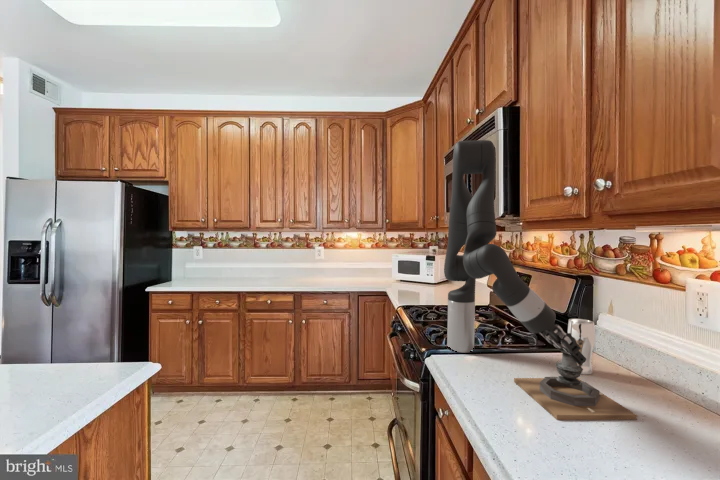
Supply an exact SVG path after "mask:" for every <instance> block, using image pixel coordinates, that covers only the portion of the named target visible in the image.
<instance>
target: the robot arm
mask: <svg viewBox="0 0 720 480" xmlns="http://www.w3.org/2000/svg"><path fill="white" fill-rule="evenodd" d="M452 154H453V155H452V179H451V180H452V182H451V183H452V184H451V199H450V206H449V215H448V233H447V234H448V235H447V246H446V252H445V258H444V265H443V266H444V267H443V274H444V278H445V279H446V281H447V280H448V281H451V282H465V283H464V284H463V285H461V286H460V287H459V288H456V289H453V290H450V291H448V293H447V334H446V338H447V339H446V340H447V341H446V342H447V343H446V347H447V346H448V347H450V348H451V349H453V350H455V351H457V352H456V353H465V354H466V353H471V352H470V351H471V350H473V348H474V349H475V321H476V320H475V318H476V280H479V279H483V278H486V277H488V276H489V277H490V276H491V275H494V276H495V278H496V279H495V281H493V283H492V291H493V293H494V295H496V296H497V297H498V298H499V299H500V300H501V302H503V304H504V305H505V306H506V307H507V308H508V309H509V311H510V313H512V315H513V316H514V317H515V318H516V319H517V320H518V321H519V322H520V323H521V324H522V326H524V328H526V330H527V331H529V333H531V334H539V335H540V336H542V338H544V340H545V341H547V343H549V345H553V347H555V349H556V348H557V349H558V350H559V351H560V352H561V353H562V351H561V349H564V350H565V351H566V352H567V354H569V355H570V356H571V357H572V358H573V359H574V360H575V361H576V362H577V363H578V364H579V365H582V364H583V363H584V362H585V361H586V358H585V357H584V356H583V355H582V353H581V352H580V351H579V350H580V349H581V348H580V346H579V345H578V344H577V342H576V341H575V340H574V338H573V337H572V336H571V334H569V333H568V332H567V333H566V332H565V331H564V330H563V328H562V327H561V326H560V325H559V324H556V323H555V321H556V317H557V316H556V314H557V313H555V311H554V310H553V309H552V308H551V307H550V306H549V305H548V304H547V302H546V301H544V300H543V298H541V296H539V294H537V293H536V292H535V290H533V289H532V288H530V287H529V285H528V284H527V283H525V281H524V279H522V278H521V277H520V276H519V274H518V273H517V271H516V268H515V267H514V265H513V263H512V262H511V260H510V258H509V256H508V254H507V253H506V251H505V250H504V248H502V247H501V246H499V245H497V244H495V243H491V242H492V241H493V240H494V239H495V238H496V236H497V223H496V222H497V221H496V213H495V211H496V210H495V188H496V148H495V145H494V143H493V142H492V141H491V140H488V139H482V140H481V139H478V140H476V139H475V140H460V141H457V142H456V143H455V145H454V148H453V153H452ZM477 174H479V175H482V179H481V182H480V184H479V187H478V188H477V190H476V192H475V193H474V194H473V195H472V193H471V192H470V190H469V188H468V187H467V184H466V182H465V179H464V178H465V177H464V176H465V175H477ZM462 248H464V249H463V254H462V255H461V254H460V255H459V253H460V251H461V249H462ZM455 351H454V352H455Z"/></svg>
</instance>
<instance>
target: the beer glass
mask: <svg viewBox="0 0 720 480" xmlns="http://www.w3.org/2000/svg"><path fill="white" fill-rule="evenodd" d="M567 323H568V324H567V333H571V336H572V337H574V338H575V339H576V342H577V344H578V345H579V346H580V348H581V349H580V350H579V351H580V352H581V353H582V355H583V356H584V357H585V358H586V361H585V362H584V363H583V364H582V365H579V364H578V363H577V365H578V366H580V367H582V368H583V371H581V375H585V376H586V375H592V374H593V368H592V367H593V366H592V355H593V352H594V347H595V342H596V341H595V340H596V329H595V322H594V321H592V320H589V319H585V318H584V319H583V318H569V319H568V322H567Z"/></svg>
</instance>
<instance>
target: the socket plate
mask: <svg viewBox="0 0 720 480" xmlns="http://www.w3.org/2000/svg"><path fill="white" fill-rule="evenodd" d="M557 377H558V376H545V377H536V378H535V377H513V378H514V379H513V382H514V384H516V385H517V386H518V387H519V388H521V390H523V391H524V392H525V393H526V394H527V395H529V397H531V398H532V399H533V400H534V401H535V402H536V403H537V404H538V405H539V406H541V408H543V409H544V410H545V411H546V412H548V413H549V414H550V415H551V416H552V417H553V418H554V419H555V420H557V421H558V420H560V421H561V420H562V421H563V420H567V421H568V420H569V421H570V420H571V421H574V420H576V421H577V420H579V421H581V420H587V421H588V420H589V421H590V420H591V421H592V420H593V421H594V420H595V421H597V420H599V421H602V420H603V421H604V420H605V421H607V420H608V421H609V420H618V421H621V420H623V421H624V420H625V421H626V420H636V421H637V420H638V415H637V414H636V413H634V412H633V411H632V410H630V409H628V408H627V407H625V406H624V405H622V404H621V403H619V402H617V401H615V400H614V399H612V398H611V397H609V396H607V395H606V394H605V393H603V392H601V391H600V390H599V389H597V388H596V387H594V386H593V385H591V384H589V383H587V382H586V381H583V380H582V379H580V377H578V378H576V379H578V380H579V381H580V382H581V385H576V386H575V385H568V384H564V383H561V382H559V381H558V380H557V379H556V378H557Z"/></svg>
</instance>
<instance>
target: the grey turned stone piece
mask: <svg viewBox="0 0 720 480" xmlns="http://www.w3.org/2000/svg"><path fill="white" fill-rule="evenodd" d="M569 334H571V333H569ZM573 338H574V337H573ZM574 340H575V341H576V339H575V338H574ZM561 351H562V352H561ZM561 351H560V352H561V354H562V355H561V360H560V362H559V361H558V362H556V363H555V366H556V370H557V373H558V374H559V376H556V377H557V378H556V379H557V380H558V381H559V382H561V383H564V384H568V385H575V386H576V385H581V382H580V381H579V380H578V379H576V378H580V376H581V375H582V374H581V371H583V368H582V367H580V366H578V365H577V362H576V361H575V360H574V359H573V358H572V357H571V356H570V355H569V354H567V352H566V351H565V350H564V349H561Z"/></svg>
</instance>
